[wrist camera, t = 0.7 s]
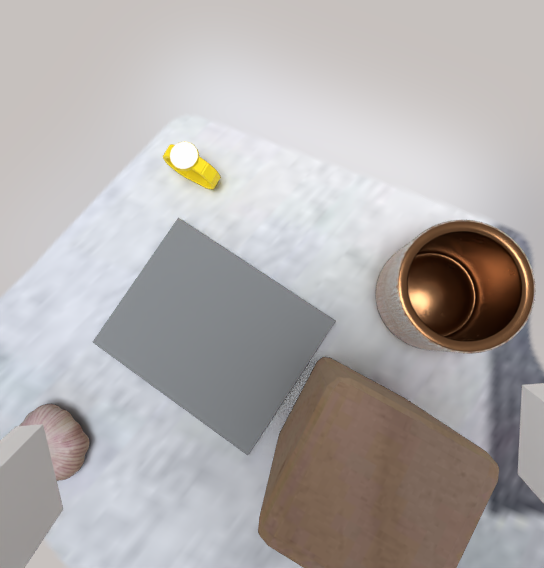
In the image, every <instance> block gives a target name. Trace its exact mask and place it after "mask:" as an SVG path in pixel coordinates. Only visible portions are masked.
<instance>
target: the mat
mask: <svg viewBox="0 0 544 568" xmlns="http://www.w3.org/2000/svg"><path fill="white" fill-rule="evenodd" d="M334 323H335V320H333V319H332V318H330V317H329V316H327V315H326V314H324V313H323V312H321V311H320V310H318V309H317V308H315V307H314V306H312V305H311V304H309V303H308V302H306V301H304V300H303V299H301V298H300V297H298V296H297V295H295V294H294V293H292V292H291V291H289V290H288V289H286V288H285V287H283V286H282V285H280V284H279V283H277V282H275V281H274V280H272V279H271V278H269V277H268V276H266V275H265V274H263V273H262V272H260V271H259V270H257V269H256V268H254V267H253V266H251V265H249V264H248V263H246V262H245V261H243V260H242V259H240V258H239V257H237V256H236V255H234V254H233V253H231V252H230V251H228V250H227V249H225V248H224V247H222V246H220V245H219V244H217V243H216V242H214V241H213V240H211V239H210V238H208V237H207V236H205V235H204V234H202V233H201V232H199V231H198V230H196V229H195V228H193V227H191V226H190V225H188V224H187V223H185V222H184V221H182V220H181V219H179V218H178V219H177V221H176V222H175V223H174V225H173V226H172V228H171V229H170V231H169V232H168V234H167V235H166V236H165V238H164V239H163V241H162V242H161V244H160V245H159V247H158V248H157V249H156V251H155V252H154V254H153V255H152V257H151V258H150V260H149V261H148V263H147V264H146V265H145V267H144V268H143V270H142V271H141V273H140V274H139V276H138V277H137V278H136V280H135V281H134V283H133V284H132V286H131V287H130V289H129V290H128V291H127V293H126V294H125V296H124V297H123V299H122V300H121V302H120V303H119V305H118V306H117V307H116V309H115V310H114V312H113V313H112V315H111V316H110V318H109V319H108V320H107V322H106V323H105V325H104V326H103V328H102V329H101V331H100V332H99V334H98V335H97V336H96V338H95V339H94V341H93V343H94V344H96V345H97V346H98V347H100V348H101V349H103V350H104V351H105V352H107V353H108V354H109V355H111V356H112V357H113V358H115V359H116V360H118V361H119V362H120V363H122V364H123V365H124V366H126V367H127V368H129V369H130V370H131V371H133V372H134V373H135V374H137V375H138V376H140V377H141V378H142V379H144V380H145V381H146V382H148V383H149V384H150V385H152V386H153V387H155V388H156V389H157V390H159V391H160V392H161V393H163V394H164V395H166V396H167V397H168V398H170V399H171V400H172V401H174V402H175V403H177V404H178V405H179V406H181V407H182V408H183V409H185V410H186V411H188V412H189V413H190V414H192V415H193V416H194V417H196V418H197V419H198V420H200V421H201V422H203V423H204V424H205V425H207V426H208V427H209V428H211V429H212V430H214V431H215V432H216V433H218V434H219V435H220V436H222V437H223V438H225V439H226V440H227V441H229V442H230V443H231V444H233V445H234V446H236V447H237V448H238V449H240V450H241V451H242V452H244V453H245V454H246V455H249V453H250V451H251V450H252V448H253V447H254V445H255V444H256V442H257V441H258V439H259V438H260V436H261V435H262V433H263V432H264V430H265V428H266V427H267V425H268V424H269V422H270V421H271V419H272V418H273V416H274V415H275V413H276V412H277V410H278V409H279V407H280V406H281V404H282V402H283V401H284V399H285V398H286V396H287V395H288V393H289V392H290V390H291V389H292V387H293V386H294V384H295V383H296V381H297V379H298V378H299V376H300V375H301V373H302V372H303V370H304V369H305V367H306V366H307V364H308V363H309V361H310V360H311V358H312V356H313V355H314V353H315V352H316V350H317V349H318V347H319V346H320V344H321V343H322V341H323V340H324V338H325V337H326V335H327V334H328V332H329V330H330V329H331V327H332V326H333V324H334Z"/></svg>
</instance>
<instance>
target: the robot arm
mask: <svg viewBox="0 0 544 568" xmlns="http://www.w3.org/2000/svg"><path fill="white" fill-rule="evenodd" d="M518 475H519V476H520V477H521V478H522V479H523V480H524V482H525V483H526V484H527V485H528V486H529V487H530V489H531V490H532V491H533V492H534V493H535V494H536V495H537V497H538V498H539V499H540V500H541V501H542V502H543V503H544V383H541V384H529V385H522V397H521V418H520V438H519V458H518ZM62 510H63V506H62V501H61V497H60V493H59V489H58V485H57V480H56V476H55V472H54V468H53V464H52V460H51V455H50V451H49V447H48V443H47V439H46V435H45V430H44V426H43V424H40V425H28V426H16V427H15V428H14V429H13V430H11V431H10V432H9V433H8V434H7V435H6V436H5V437H4V438H3V439H2V440H0V568H25V566H26V565H27V563H28V562H29V560H30V559H31V557H32V556H33V554H34V553H35V551H36V550H37V548H38V547H39V545H40V544H41V542H42V541H43V539H44V537H45V536H46V534H47V533H48V531H49V530H50V528H51V527H52V525H53V524H54V522H55V521H56V519H57V518H58V516H59V515H60V513H61V512H62Z"/></svg>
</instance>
